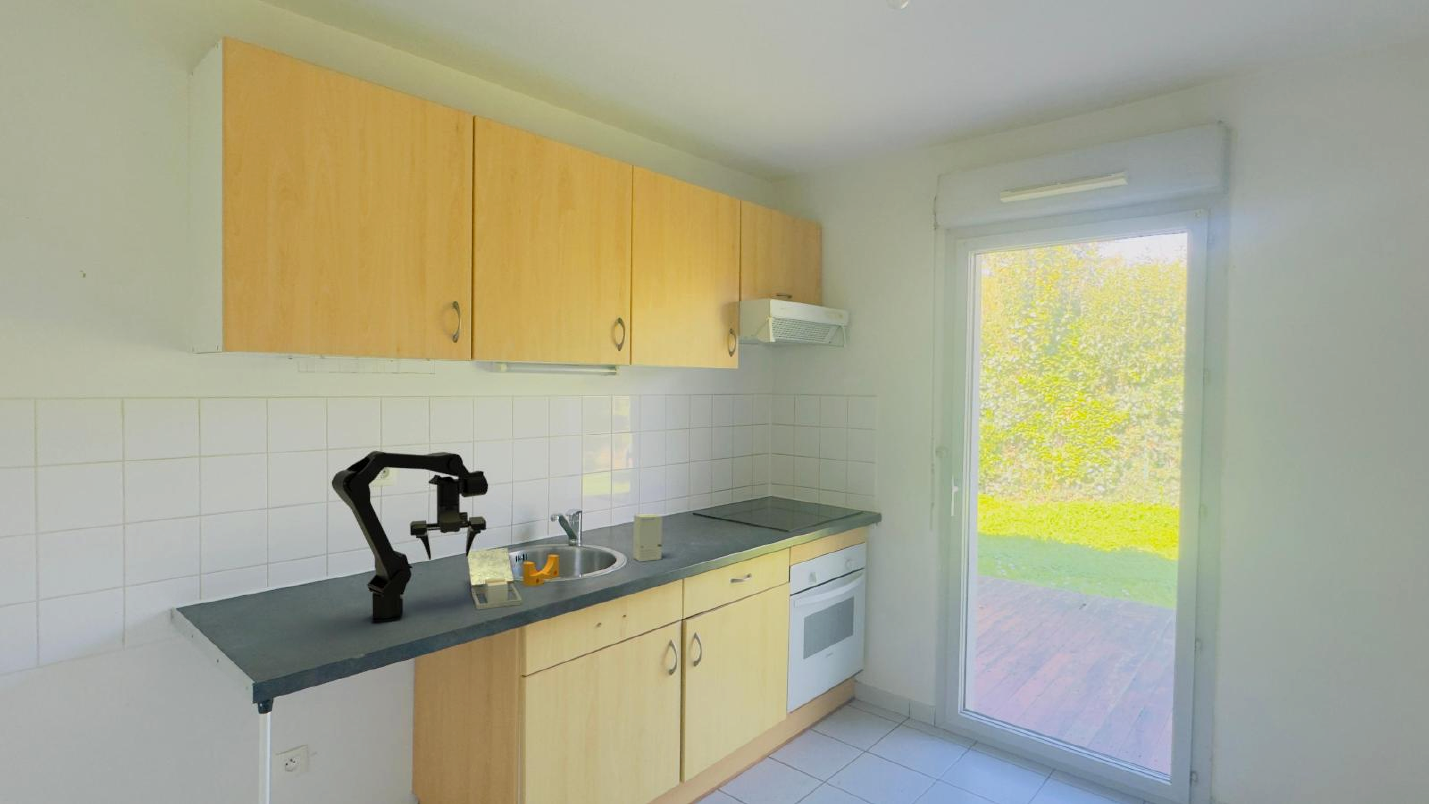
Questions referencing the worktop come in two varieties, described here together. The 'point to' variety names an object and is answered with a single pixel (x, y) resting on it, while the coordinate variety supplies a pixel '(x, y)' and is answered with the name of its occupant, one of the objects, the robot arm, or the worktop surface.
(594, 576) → the worktop surface
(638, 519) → the skincare box
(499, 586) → the block
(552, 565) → the pipe clamp
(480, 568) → the case
